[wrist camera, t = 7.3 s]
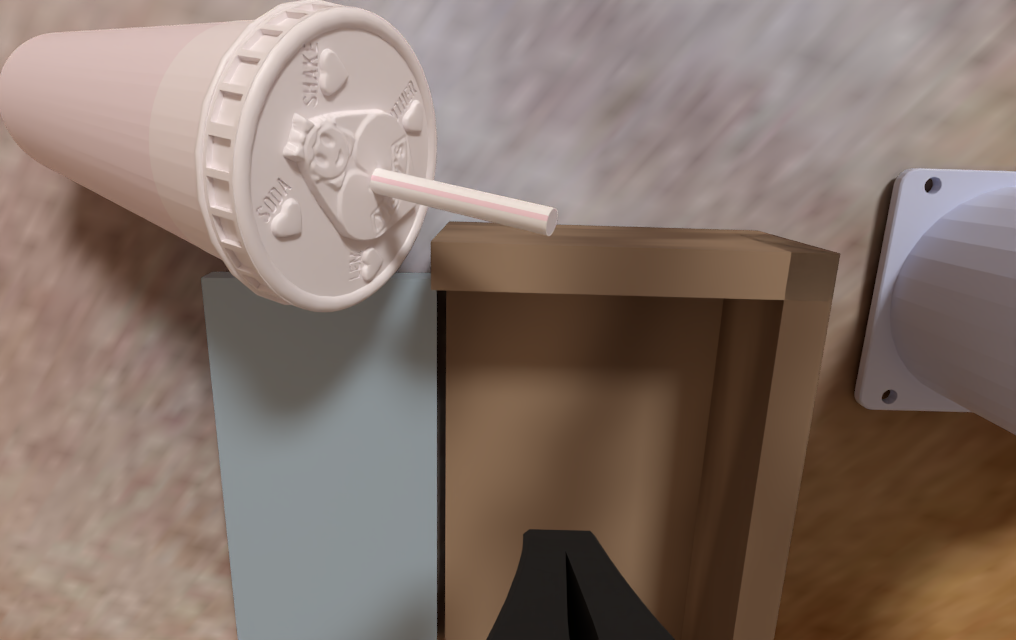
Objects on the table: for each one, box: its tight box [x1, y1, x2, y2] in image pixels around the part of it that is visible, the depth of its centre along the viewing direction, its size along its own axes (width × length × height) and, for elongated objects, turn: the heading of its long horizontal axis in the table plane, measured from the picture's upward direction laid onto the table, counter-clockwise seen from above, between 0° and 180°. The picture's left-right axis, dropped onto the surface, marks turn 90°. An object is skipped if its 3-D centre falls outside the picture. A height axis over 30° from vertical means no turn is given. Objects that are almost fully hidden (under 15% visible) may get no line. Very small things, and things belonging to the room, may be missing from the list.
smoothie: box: [0, 0, 558, 312], centre depth 14 cm, size 6×6×14 cm
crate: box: [431, 222, 840, 640], centre depth 19 cm, size 10×18×5 cm, turn 178°
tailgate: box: [201, 272, 437, 640], centre depth 21 cm, size 1×14×7 cm
